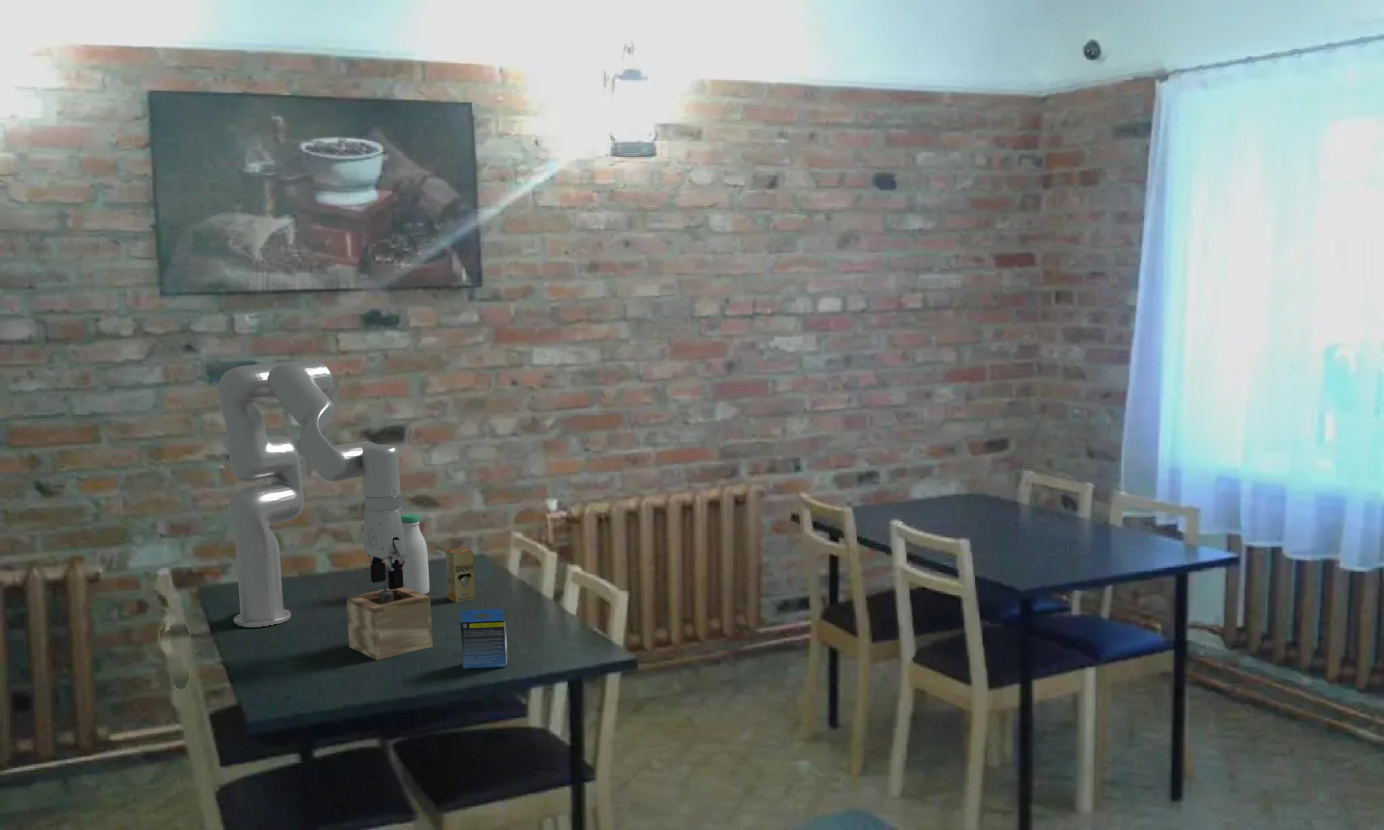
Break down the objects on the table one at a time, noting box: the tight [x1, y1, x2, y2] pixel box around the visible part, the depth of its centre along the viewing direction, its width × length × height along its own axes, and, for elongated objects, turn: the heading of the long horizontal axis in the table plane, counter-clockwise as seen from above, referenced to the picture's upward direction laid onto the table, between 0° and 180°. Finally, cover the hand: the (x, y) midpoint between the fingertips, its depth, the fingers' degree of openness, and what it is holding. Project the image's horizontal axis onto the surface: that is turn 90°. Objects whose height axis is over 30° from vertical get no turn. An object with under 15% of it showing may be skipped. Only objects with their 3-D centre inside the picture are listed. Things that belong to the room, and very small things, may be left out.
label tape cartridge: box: [459, 607, 508, 670], centre depth 252 cm, size 9×4×12 cm, turn 92°
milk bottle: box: [401, 513, 430, 595], centre depth 310 cm, size 8×8×20 cm
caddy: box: [345, 587, 434, 661], centre depth 266 cm, size 13×13×11 cm
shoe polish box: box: [445, 547, 476, 604], centre depth 304 cm, size 5×5×12 cm
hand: (387, 584), depth 265 cm, fingers open, 7 cm apart
